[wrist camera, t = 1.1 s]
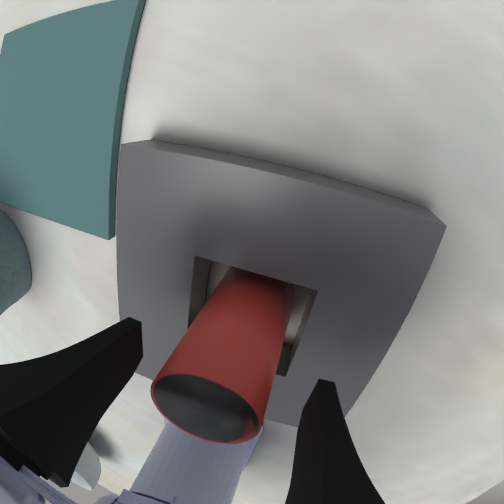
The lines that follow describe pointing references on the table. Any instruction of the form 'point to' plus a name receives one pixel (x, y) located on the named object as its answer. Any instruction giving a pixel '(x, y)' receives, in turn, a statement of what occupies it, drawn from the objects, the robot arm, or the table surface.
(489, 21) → the table surface
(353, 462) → the robot arm
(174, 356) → the red cylinder
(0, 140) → the bench mat
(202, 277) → the square hole block
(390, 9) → the table surface
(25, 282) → the plant pot
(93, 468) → the cereal bowl
